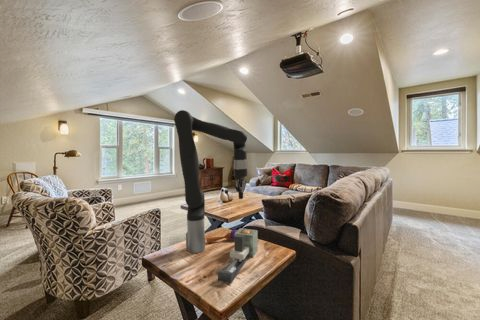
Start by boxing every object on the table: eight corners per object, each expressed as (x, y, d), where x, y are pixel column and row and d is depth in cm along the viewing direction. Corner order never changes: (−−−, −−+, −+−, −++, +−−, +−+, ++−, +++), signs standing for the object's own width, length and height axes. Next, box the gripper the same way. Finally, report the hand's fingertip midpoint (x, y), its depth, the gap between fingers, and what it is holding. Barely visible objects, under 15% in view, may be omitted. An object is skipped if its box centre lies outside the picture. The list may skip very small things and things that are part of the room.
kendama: (205, 234, 130) (237, 227, 136) (207, 245, 129) (238, 237, 135) (207, 236, 124) (240, 229, 130) (208, 247, 123) (241, 239, 130)
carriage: (243, 262, 100) (243, 239, 100) (229, 260, 103) (229, 237, 103) (249, 254, 108) (248, 233, 107) (236, 252, 110) (235, 231, 110)
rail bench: (235, 284, 87) (235, 258, 87) (213, 279, 91) (213, 254, 90) (257, 250, 117) (257, 230, 116) (240, 247, 120) (240, 228, 120)
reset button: (240, 240, 113) (240, 232, 113) (243, 236, 117) (243, 229, 117) (248, 241, 112) (248, 233, 112) (251, 237, 116) (251, 230, 116)
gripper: (238, 166, 128) (238, 195, 129) (229, 168, 115) (230, 201, 116) (250, 167, 125) (250, 196, 126) (242, 169, 113) (243, 201, 114)
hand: (240, 198), depth 121 cm, fingers closed
